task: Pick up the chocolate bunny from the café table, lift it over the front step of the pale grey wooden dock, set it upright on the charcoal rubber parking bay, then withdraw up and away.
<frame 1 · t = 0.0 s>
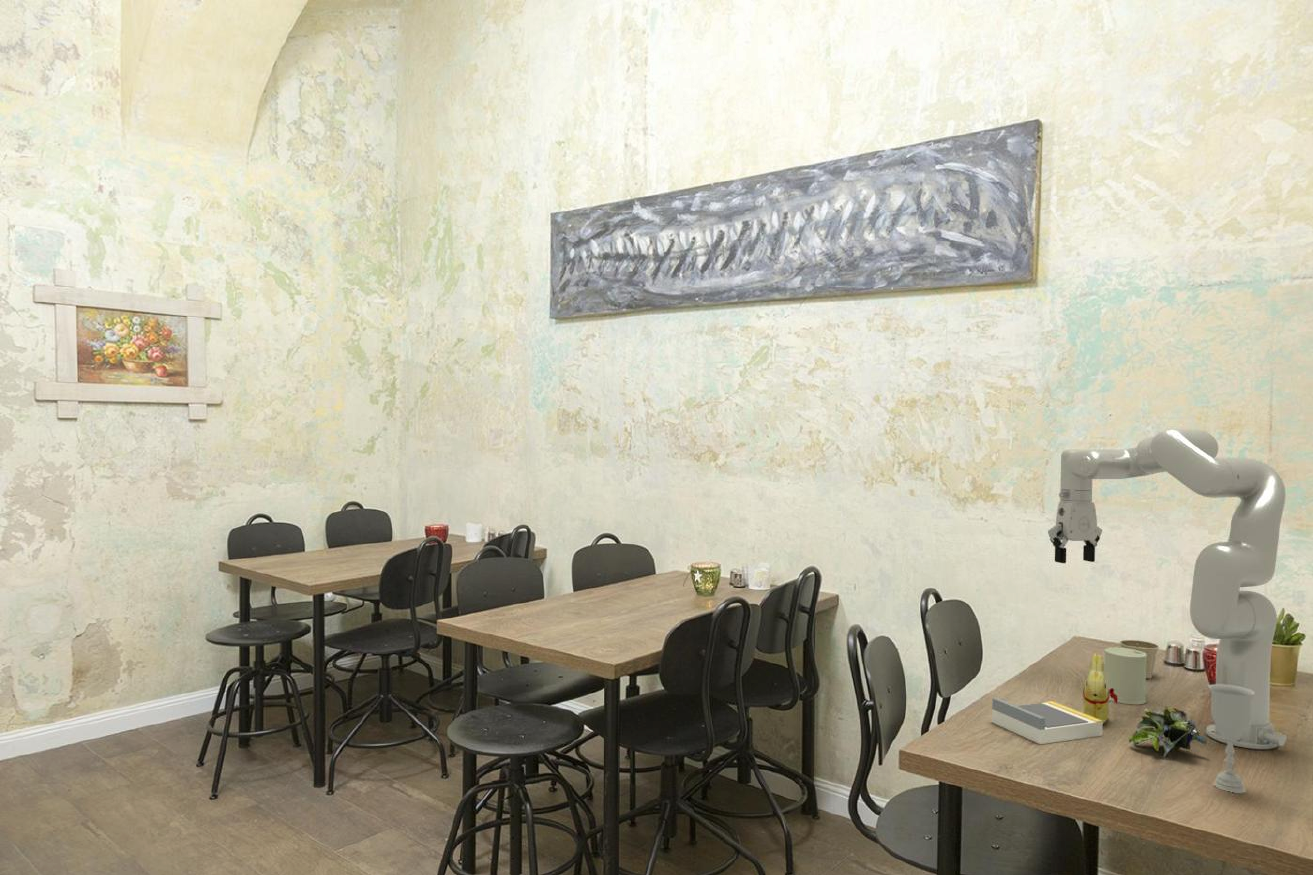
hand: (1074, 561, 225), 31 cm above the table, tool pointing down, fingers open, 9 cm apart
chalice: (1229, 788, 157), on the table
chocolate bunny: (1099, 722, 193), on the table
can: (1124, 699, 210), on the table
dock: (1046, 728, 187), on the table
leafy plant: (1166, 754, 174), on the table
flower pot: (1138, 676, 230), on the table
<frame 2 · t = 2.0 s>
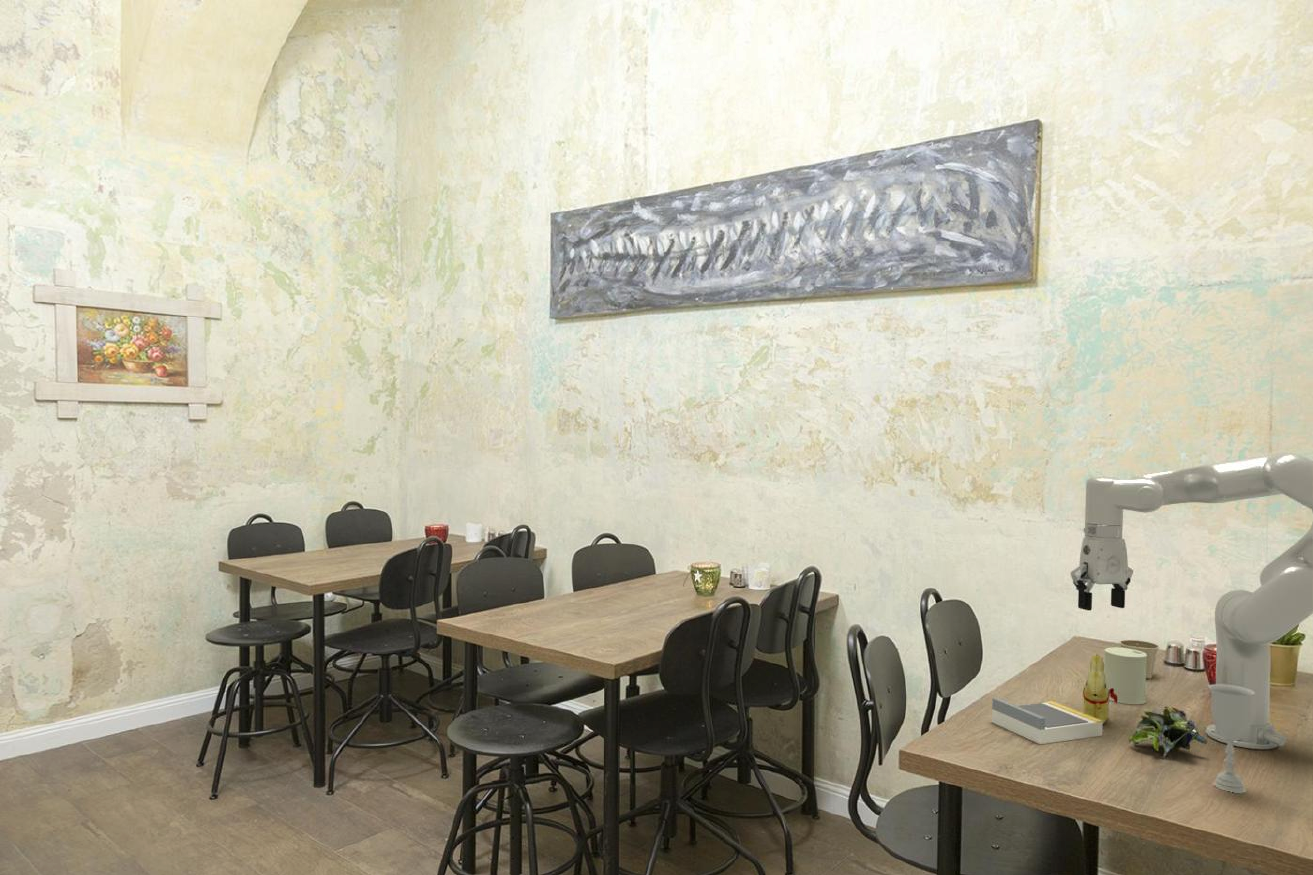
hand: (1101, 608, 192), 26 cm above the table, tool pointing down, fingers open, 9 cm apart
nothing on the table moved.
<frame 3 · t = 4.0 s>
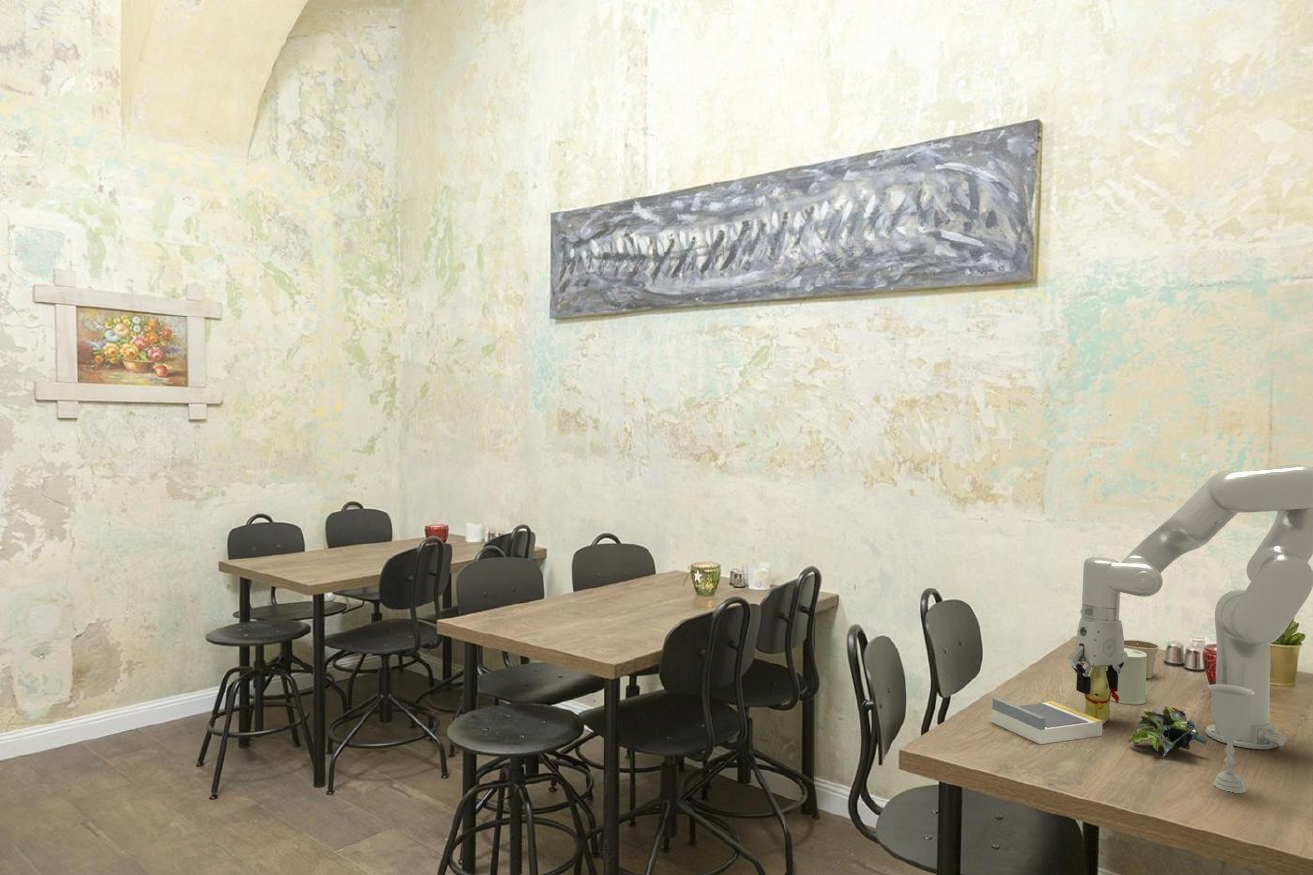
hand: (1096, 690, 193), 7 cm above the table, tool pointing down, fingers closed on chocolate bunny, 7 cm apart
chocolate bunny: (1100, 722, 193), on the table, touching gripper
everything else where it was.
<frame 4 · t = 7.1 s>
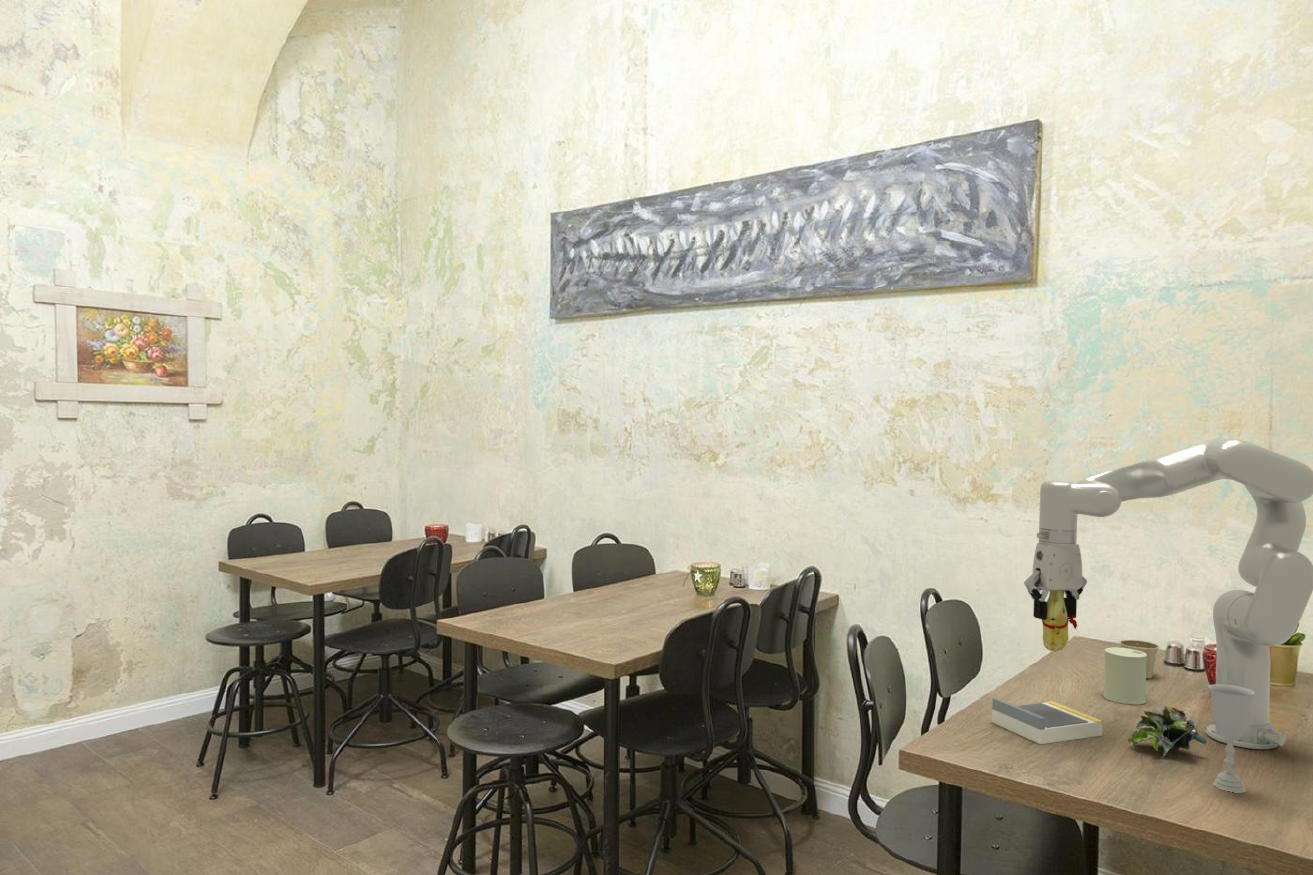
hand: (1054, 617, 188), 24 cm above the table, tool pointing down, fingers closed on chocolate bunny, 7 cm apart
chocolate bunny: (1058, 649, 188), point 17 cm above the table, touching gripper
everything else where it was.
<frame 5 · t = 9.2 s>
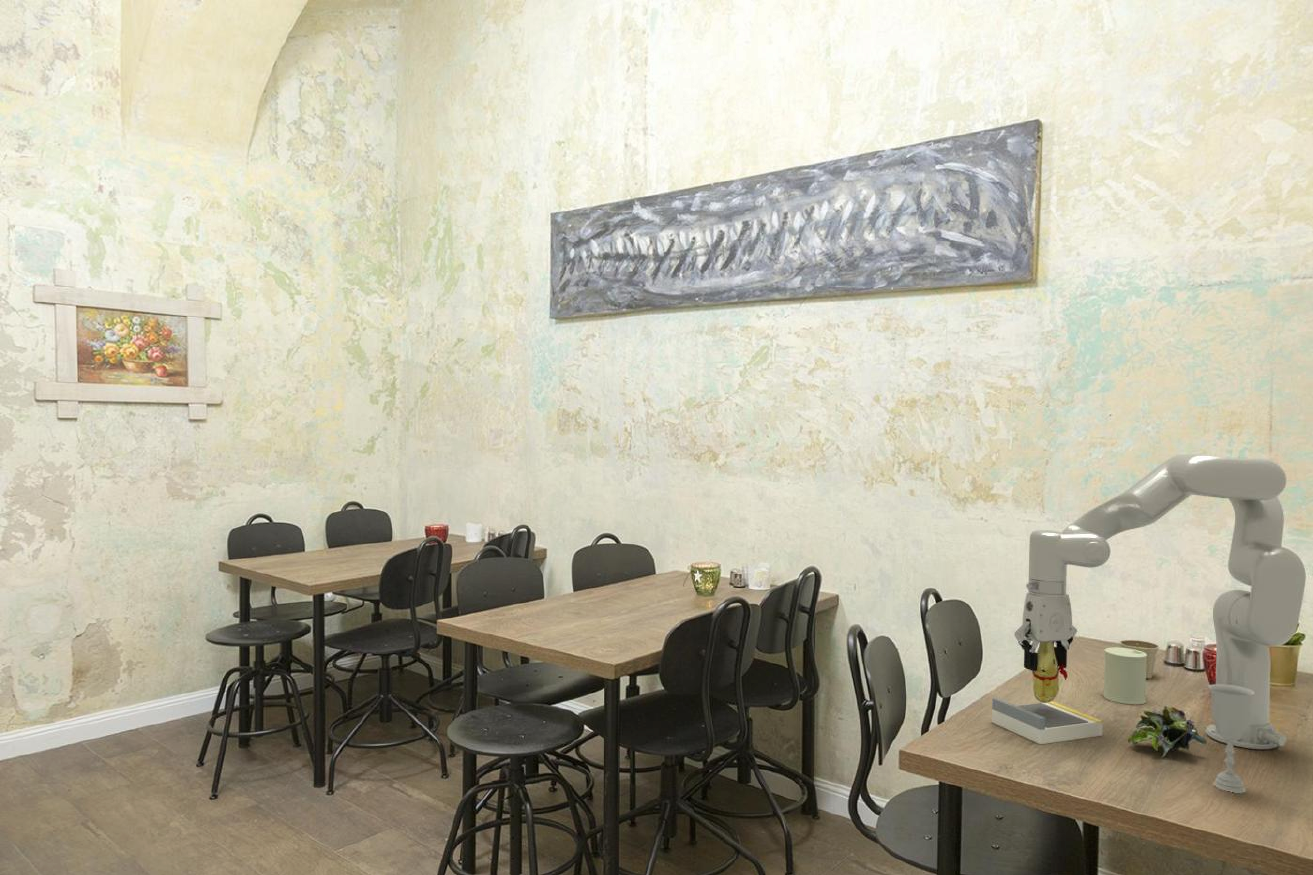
hand: (1045, 667, 187), 13 cm above the table, tool pointing down, fingers closed on chocolate bunny, 7 cm apart
chocolate bunny: (1049, 699, 187), point 6 cm above the table, touching gripper
everything else where it was.
when the fingers open (11 cm above the table, at t = 10.4 s): chocolate bunny stays where it is, resting on dock.
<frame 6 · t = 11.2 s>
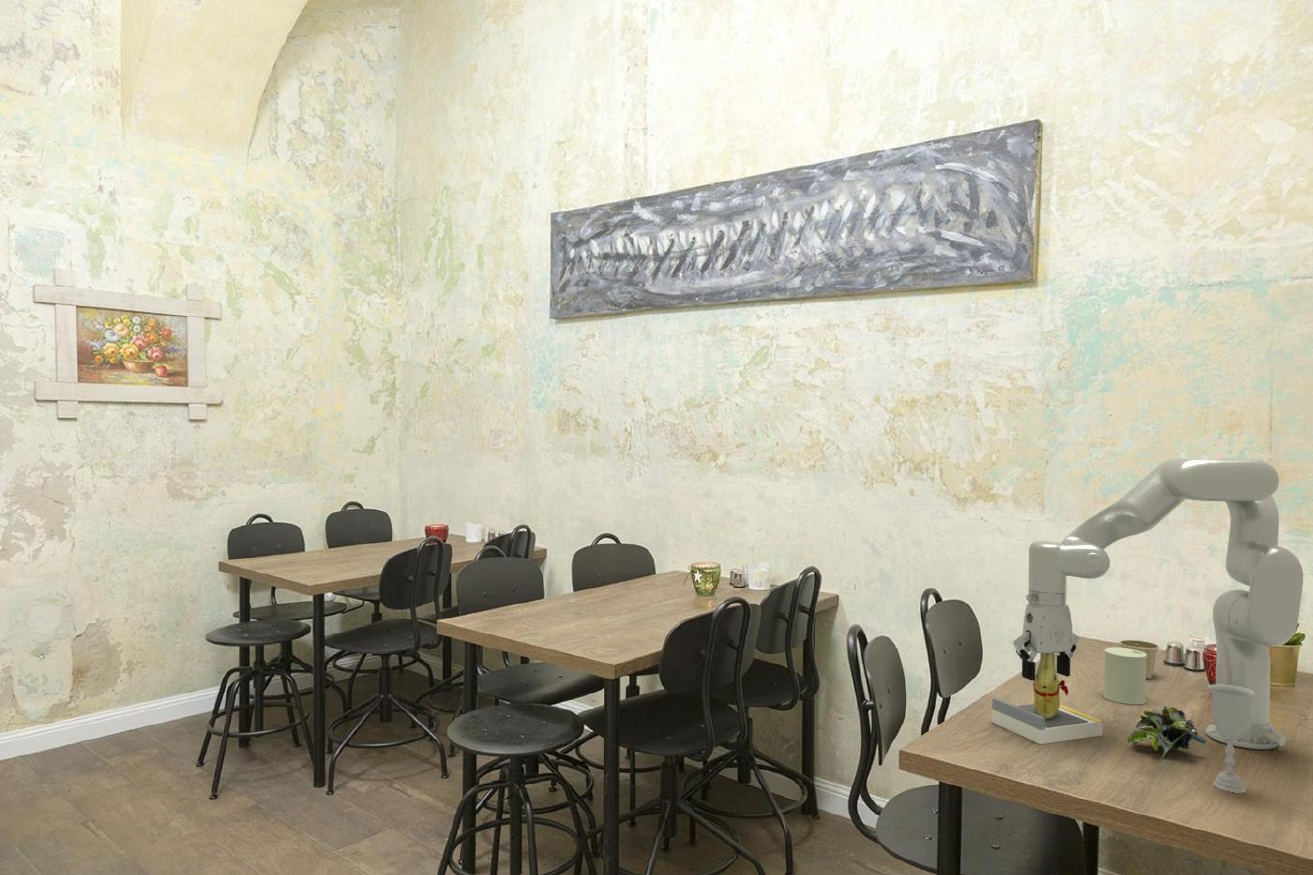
hand: (1046, 676, 187), 11 cm above the table, tool pointing down, fingers open, 9 cm apart
chocolate bunny: (1050, 715, 187), point 3 cm above the table, touching dock
everything else where it was.
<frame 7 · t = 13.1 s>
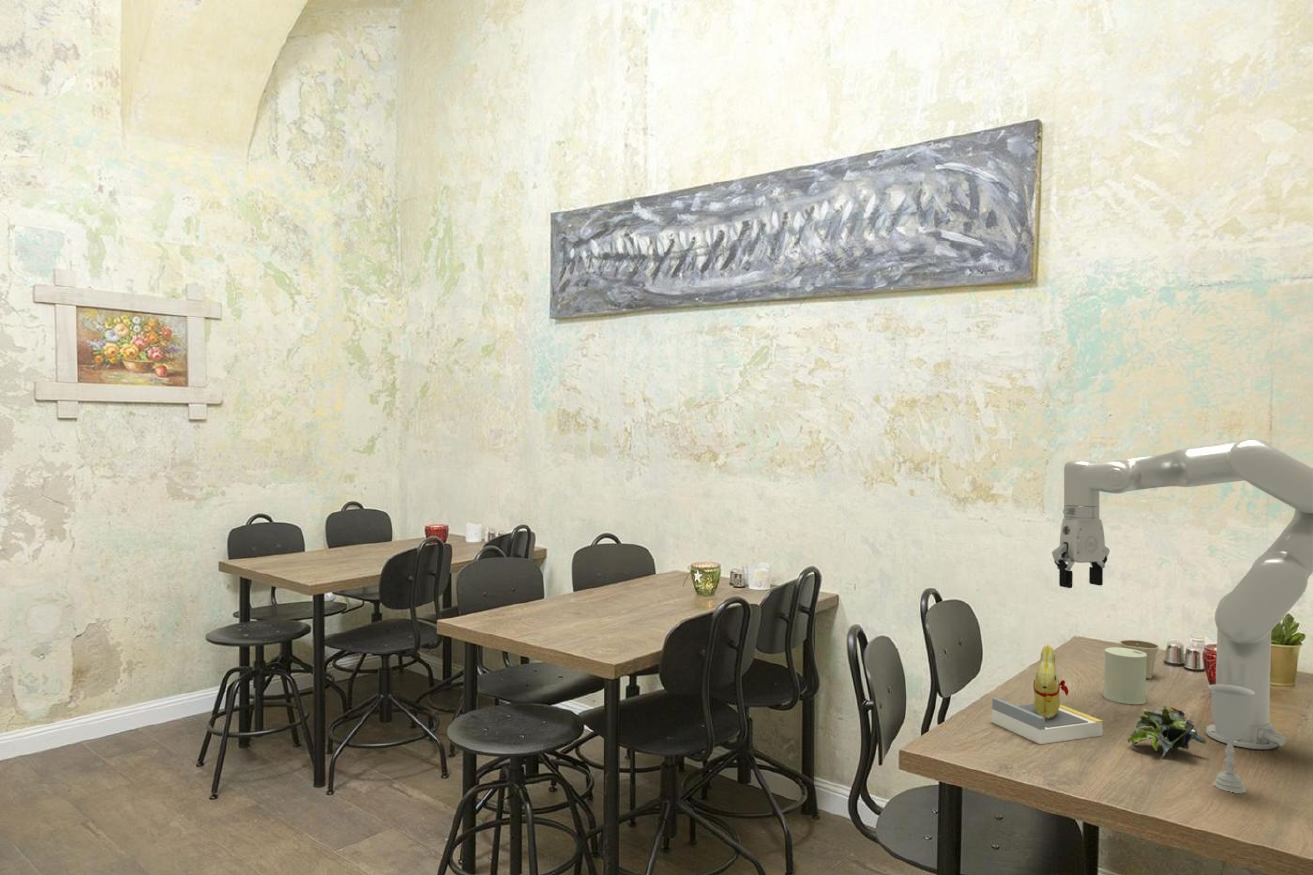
hand: (1080, 585, 201), 29 cm above the table, tool pointing down, fingers open, 9 cm apart
nothing on the table moved.
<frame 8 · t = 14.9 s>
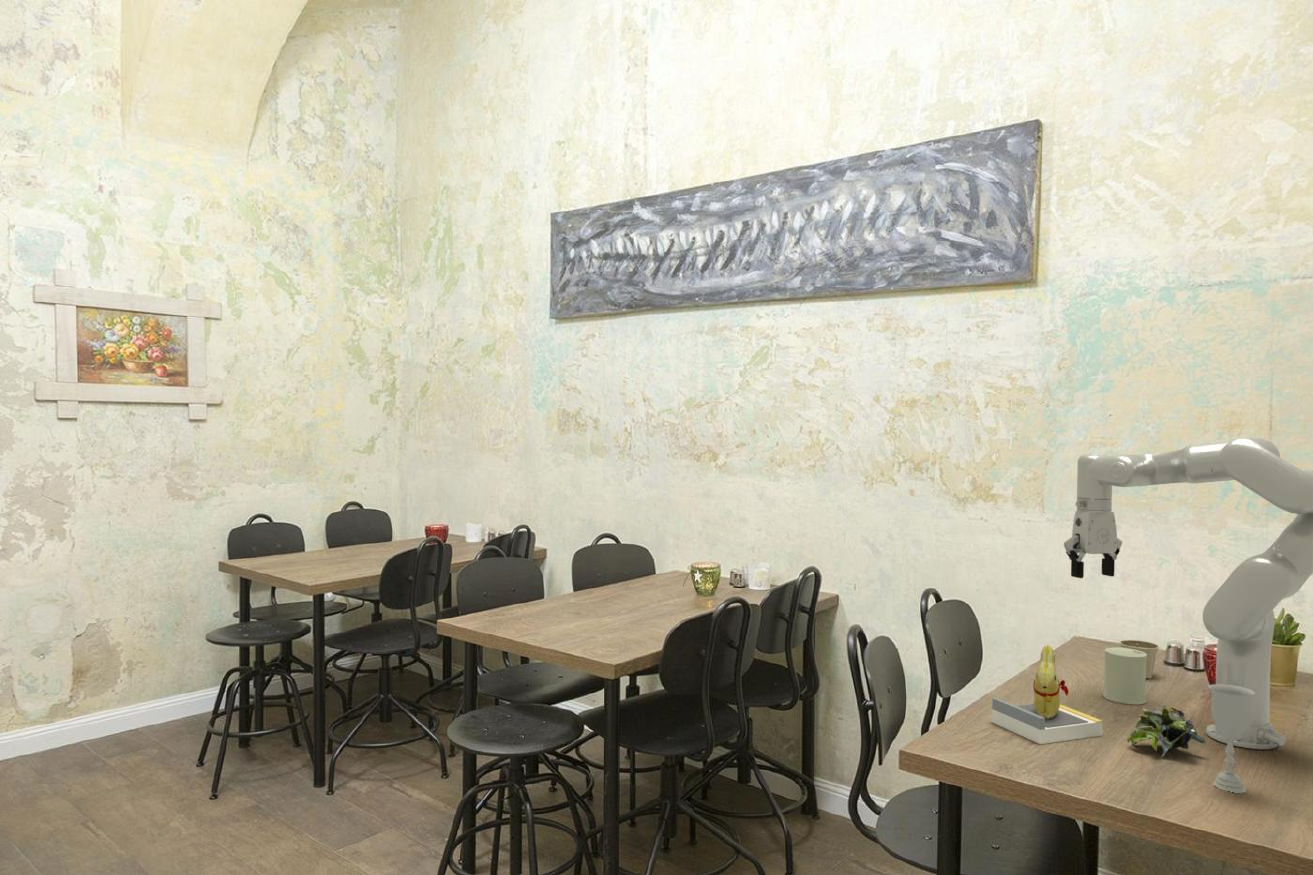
hand: (1092, 576, 207), 30 cm above the table, tool pointing down, fingers open, 9 cm apart
nothing on the table moved.
at the end: chocolate bunny inside the target area on the dock (1.6 cm from its centre), point 3.0 cm above the dock's base; chocolate bunny tilted 0°; the gripper is holding nothing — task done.
